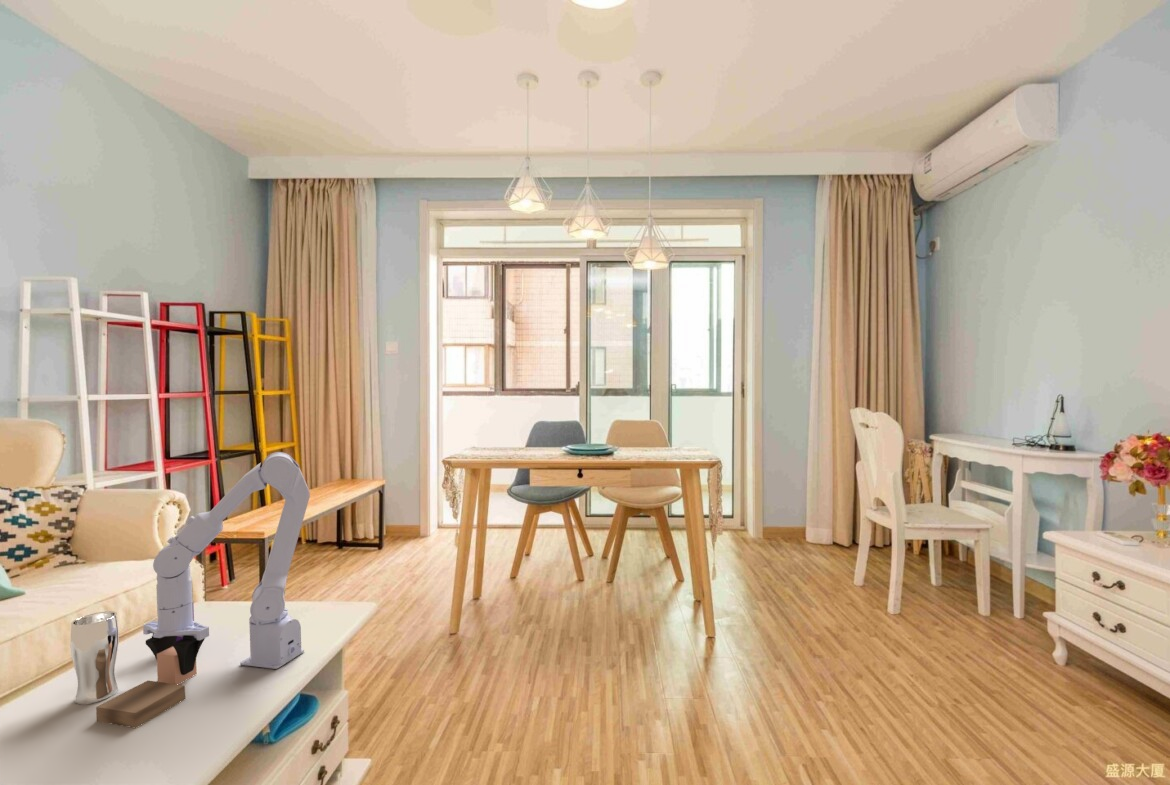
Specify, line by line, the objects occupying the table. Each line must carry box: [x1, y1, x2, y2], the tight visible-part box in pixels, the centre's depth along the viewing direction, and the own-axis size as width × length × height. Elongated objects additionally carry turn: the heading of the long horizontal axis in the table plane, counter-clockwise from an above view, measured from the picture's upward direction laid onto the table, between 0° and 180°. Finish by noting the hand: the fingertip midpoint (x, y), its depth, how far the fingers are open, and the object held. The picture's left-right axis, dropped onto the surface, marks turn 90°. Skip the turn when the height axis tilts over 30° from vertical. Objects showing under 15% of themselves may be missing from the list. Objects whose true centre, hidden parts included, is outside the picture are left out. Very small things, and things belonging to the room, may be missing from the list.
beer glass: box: [69, 610, 120, 706], centre depth 106 cm, size 7×7×15 cm
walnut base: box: [95, 680, 186, 729], centre depth 101 cm, size 9×9×3 cm
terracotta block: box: [156, 647, 198, 685], centre depth 112 cm, size 4×4×6 cm
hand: (177, 671), depth 112 cm, fingers open, 5 cm apart
